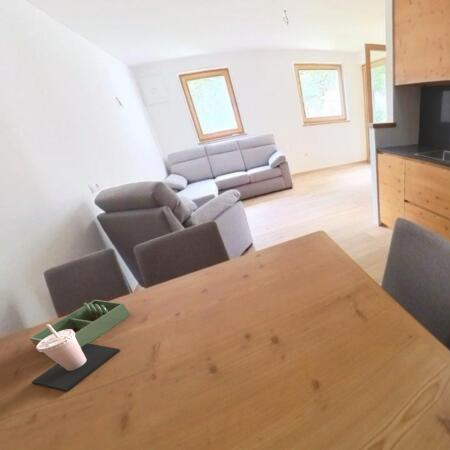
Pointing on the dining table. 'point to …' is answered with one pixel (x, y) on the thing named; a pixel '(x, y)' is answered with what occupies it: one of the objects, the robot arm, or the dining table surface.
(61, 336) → the smoothie
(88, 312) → the rack
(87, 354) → the mat
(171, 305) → the dining table surface
